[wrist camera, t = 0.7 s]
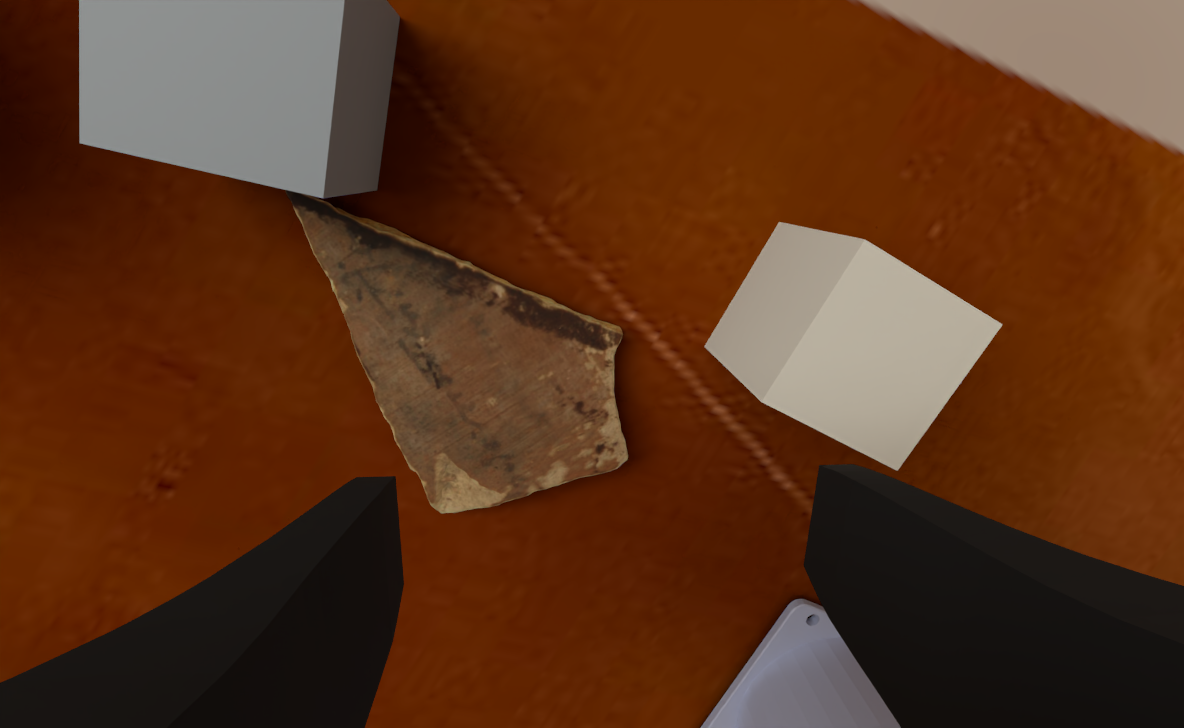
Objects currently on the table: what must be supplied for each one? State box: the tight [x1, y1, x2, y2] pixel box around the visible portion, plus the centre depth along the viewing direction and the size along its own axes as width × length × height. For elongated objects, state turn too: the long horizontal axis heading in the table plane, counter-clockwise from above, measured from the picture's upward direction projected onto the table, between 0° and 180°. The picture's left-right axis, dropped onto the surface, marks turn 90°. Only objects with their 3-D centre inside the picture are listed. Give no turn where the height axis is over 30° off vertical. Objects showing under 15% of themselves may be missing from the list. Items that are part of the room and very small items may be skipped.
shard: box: [285, 190, 628, 513], centre depth 18 cm, size 11×8×2 cm
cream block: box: [705, 222, 1002, 471], centre depth 17 cm, size 4×4×5 cm
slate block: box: [79, 0, 400, 198], centre depth 14 cm, size 4×4×5 cm
